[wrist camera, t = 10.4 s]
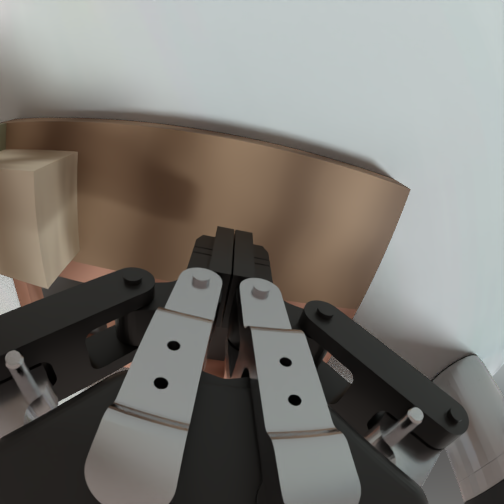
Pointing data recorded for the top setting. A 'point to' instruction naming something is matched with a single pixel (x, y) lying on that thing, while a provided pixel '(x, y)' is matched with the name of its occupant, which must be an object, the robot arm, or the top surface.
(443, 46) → the top surface
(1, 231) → the birch block
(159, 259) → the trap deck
